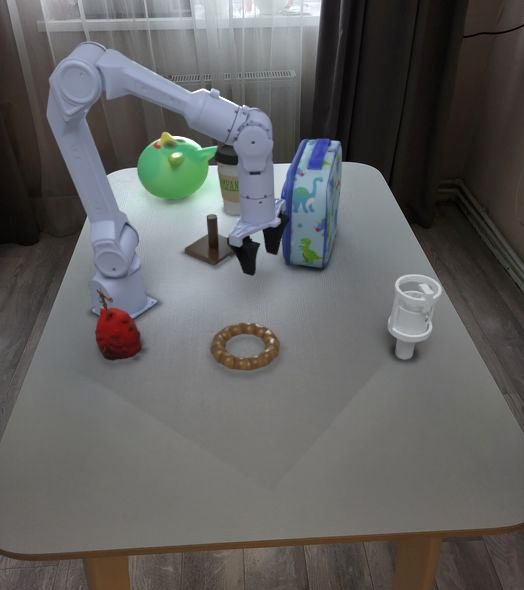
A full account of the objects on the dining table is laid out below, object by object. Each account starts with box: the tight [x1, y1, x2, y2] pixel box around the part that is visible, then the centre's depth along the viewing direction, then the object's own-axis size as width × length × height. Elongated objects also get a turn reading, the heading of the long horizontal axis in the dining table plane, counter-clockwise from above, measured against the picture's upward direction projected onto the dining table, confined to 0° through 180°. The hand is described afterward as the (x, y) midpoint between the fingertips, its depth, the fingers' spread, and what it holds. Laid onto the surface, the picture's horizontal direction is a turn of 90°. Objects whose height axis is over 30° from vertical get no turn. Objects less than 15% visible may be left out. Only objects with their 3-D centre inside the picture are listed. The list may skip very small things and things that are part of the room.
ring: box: [209, 322, 281, 372], centre depth 95 cm, size 12×12×2 cm
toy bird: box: [136, 131, 219, 200], centre depth 136 cm, size 18×17×15 cm
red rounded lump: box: [94, 287, 142, 361], centre depth 91 cm, size 8×7×15 cm
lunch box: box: [280, 138, 343, 269], centre depth 116 cm, size 26×11×21 cm, turn 168°
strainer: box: [387, 273, 442, 360], centre depth 91 cm, size 7×7×15 cm
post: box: [184, 213, 235, 267], centre depth 118 cm, size 9×9×8 cm
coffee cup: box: [213, 142, 241, 216], centre depth 130 cm, size 10×10×15 cm
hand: (260, 263), depth 99 cm, fingers open, 7 cm apart
